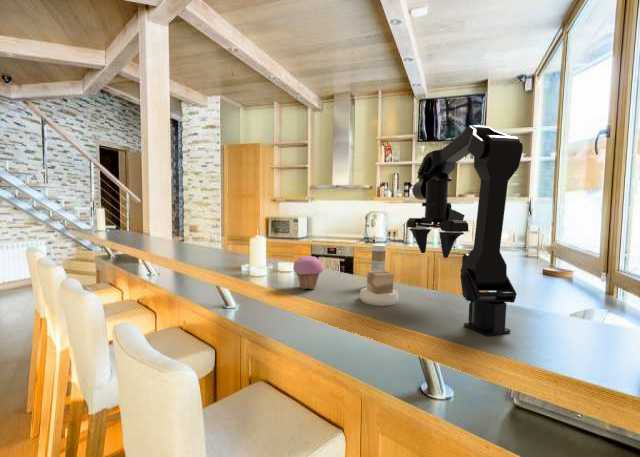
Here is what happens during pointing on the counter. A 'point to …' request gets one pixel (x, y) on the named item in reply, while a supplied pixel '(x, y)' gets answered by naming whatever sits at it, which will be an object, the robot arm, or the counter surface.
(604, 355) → the counter surface
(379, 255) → the sprinkles bottle
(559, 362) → the counter surface
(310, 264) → the cupcake
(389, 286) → the beech cube
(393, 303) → the ceramic stand
